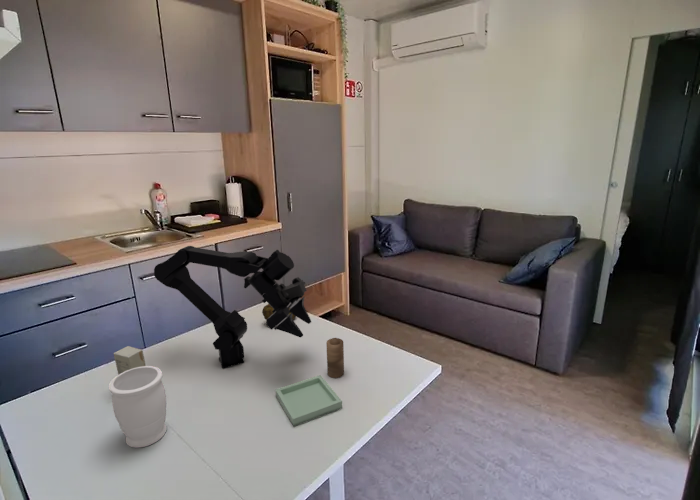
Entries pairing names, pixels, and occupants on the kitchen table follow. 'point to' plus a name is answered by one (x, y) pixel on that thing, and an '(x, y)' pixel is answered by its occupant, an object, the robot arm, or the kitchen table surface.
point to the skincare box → (129, 359)
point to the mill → (335, 358)
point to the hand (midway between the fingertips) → (306, 329)
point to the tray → (308, 400)
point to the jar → (140, 405)
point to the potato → (270, 312)
